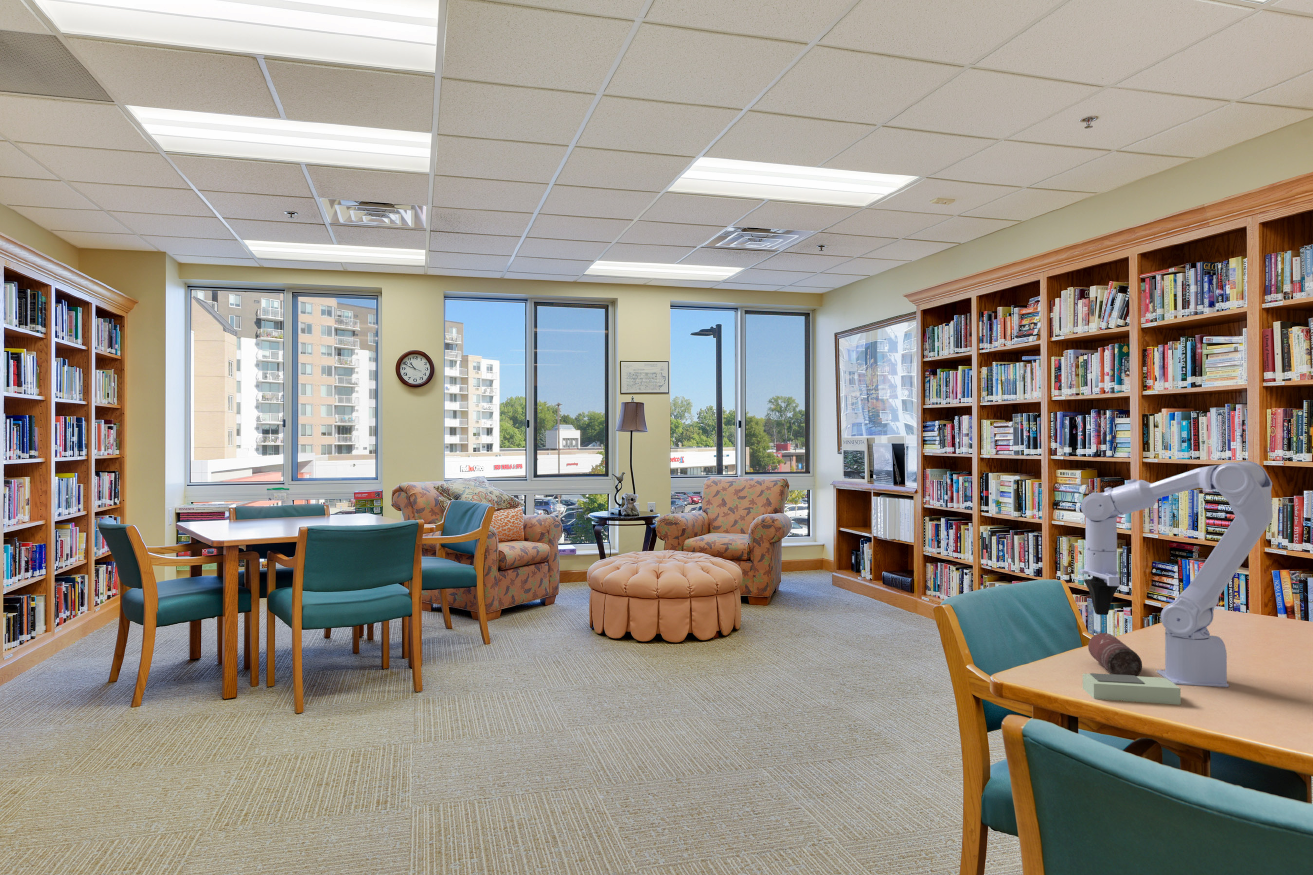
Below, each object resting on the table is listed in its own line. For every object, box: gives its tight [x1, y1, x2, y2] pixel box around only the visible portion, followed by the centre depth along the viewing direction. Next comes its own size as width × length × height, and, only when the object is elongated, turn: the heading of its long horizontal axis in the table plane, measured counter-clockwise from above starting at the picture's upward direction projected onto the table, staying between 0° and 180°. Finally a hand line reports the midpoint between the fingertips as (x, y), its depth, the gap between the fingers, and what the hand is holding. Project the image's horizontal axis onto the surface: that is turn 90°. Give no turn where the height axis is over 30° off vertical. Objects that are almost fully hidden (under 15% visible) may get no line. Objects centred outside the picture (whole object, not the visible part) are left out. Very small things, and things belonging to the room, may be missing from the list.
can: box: [1087, 632, 1143, 676], centre depth 158 cm, size 6×6×14 cm
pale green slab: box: [1082, 672, 1182, 705], centre depth 142 cm, size 14×6×3 cm, turn 78°
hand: (1101, 614), depth 164 cm, fingers closed
